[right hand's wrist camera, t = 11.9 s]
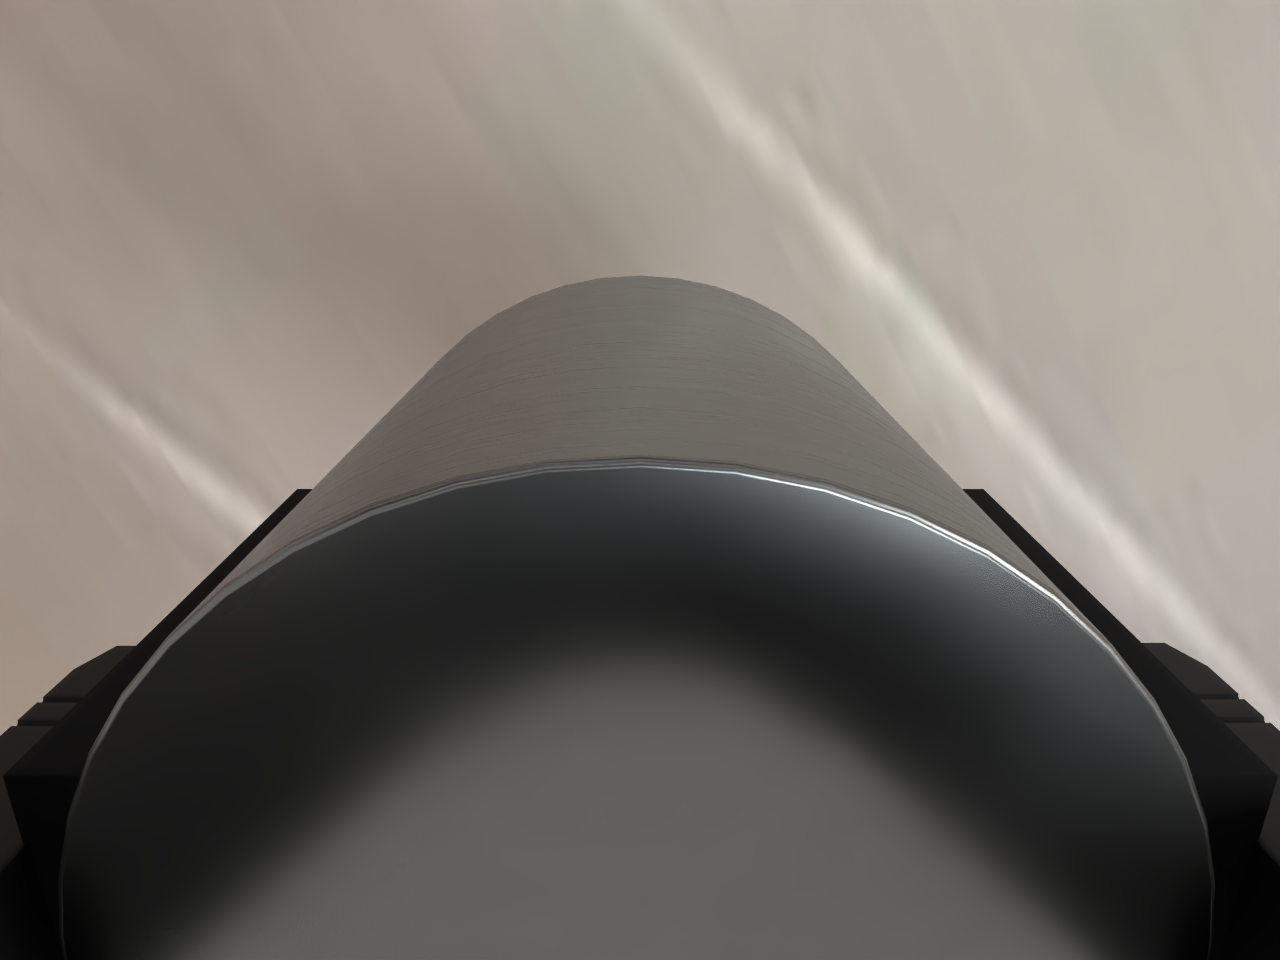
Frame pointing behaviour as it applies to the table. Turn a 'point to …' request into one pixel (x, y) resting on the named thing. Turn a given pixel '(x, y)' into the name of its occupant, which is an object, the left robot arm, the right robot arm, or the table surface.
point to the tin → (636, 689)
